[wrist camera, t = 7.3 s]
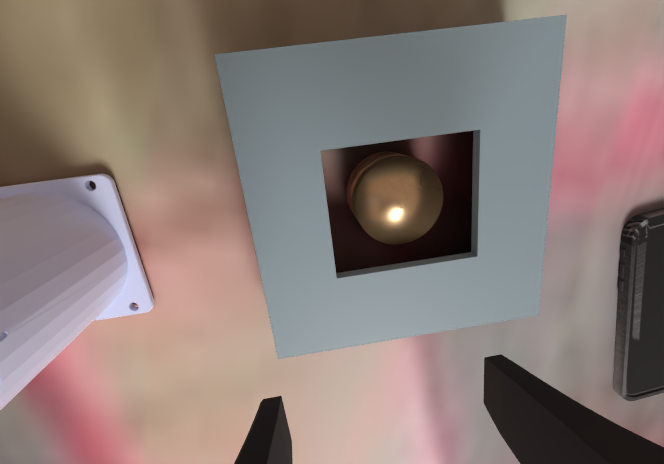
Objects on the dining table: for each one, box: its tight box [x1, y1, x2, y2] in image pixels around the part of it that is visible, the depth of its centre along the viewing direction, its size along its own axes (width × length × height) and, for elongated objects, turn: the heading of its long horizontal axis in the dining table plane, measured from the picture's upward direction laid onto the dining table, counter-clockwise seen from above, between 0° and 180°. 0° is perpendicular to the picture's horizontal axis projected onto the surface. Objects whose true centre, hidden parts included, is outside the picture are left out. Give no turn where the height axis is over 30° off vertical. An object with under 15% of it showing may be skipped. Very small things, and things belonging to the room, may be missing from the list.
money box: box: [214, 15, 567, 359], centre depth 17 cm, size 14×14×4 cm
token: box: [347, 151, 443, 245], centre depth 17 cm, size 4×4×3 cm
